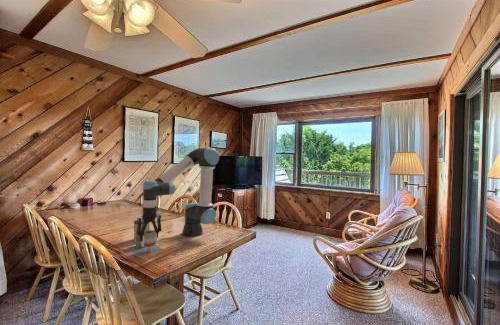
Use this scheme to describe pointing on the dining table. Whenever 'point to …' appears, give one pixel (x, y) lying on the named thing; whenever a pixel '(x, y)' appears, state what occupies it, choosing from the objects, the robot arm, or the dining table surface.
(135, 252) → the pin board
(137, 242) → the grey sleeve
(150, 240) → the cream sleeve
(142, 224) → the coffee can
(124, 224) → the dining table surface
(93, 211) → the dining table surface
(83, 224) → the dining table surface
